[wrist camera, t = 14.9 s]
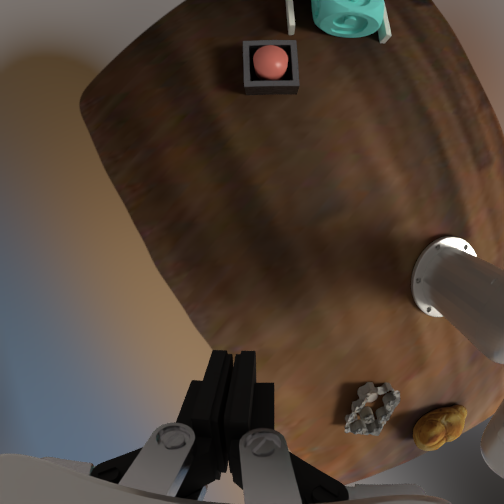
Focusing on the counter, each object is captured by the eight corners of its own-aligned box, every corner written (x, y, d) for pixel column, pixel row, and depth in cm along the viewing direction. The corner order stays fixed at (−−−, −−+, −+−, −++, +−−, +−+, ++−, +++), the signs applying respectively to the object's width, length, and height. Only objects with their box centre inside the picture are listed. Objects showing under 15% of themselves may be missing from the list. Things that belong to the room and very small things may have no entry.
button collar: (293, 51, 33) (296, 40, 30) (296, 94, 35) (299, 85, 31) (245, 52, 34) (242, 41, 30) (246, 95, 35) (244, 86, 32)
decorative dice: (362, -1, 30) (377, -28, 22) (370, 41, 32) (389, 17, 24) (309, -7, 31) (315, -37, 23) (314, 35, 33) (323, 8, 25)
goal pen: (374, -5, 30) (380, -14, 27) (384, 43, 32) (391, 35, 29) (284, -14, 31) (284, -24, 28) (288, 34, 33) (289, 25, 30)
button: (285, 55, 33) (287, 45, 29) (287, 83, 33) (289, 74, 30) (254, 56, 33) (252, 45, 29) (255, 83, 34) (253, 74, 30)
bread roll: (465, 392, 45) (483, 416, 37) (455, 424, 47) (469, 447, 39) (412, 411, 46) (426, 438, 38) (405, 441, 48) (416, 467, 40)
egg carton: (361, 378, 44) (367, 393, 40) (398, 382, 44) (406, 396, 40) (338, 422, 47) (341, 437, 43) (373, 424, 47) (379, 439, 43)
